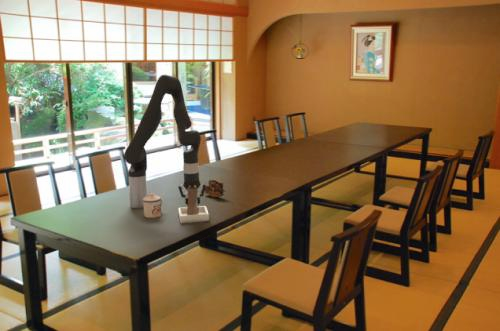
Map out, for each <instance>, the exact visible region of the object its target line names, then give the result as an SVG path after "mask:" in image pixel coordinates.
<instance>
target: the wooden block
mask: <svg viewBox="0 0 500 331" xmlns="http://www.w3.org/2000/svg"><path fill="white" fill-rule="evenodd" d="M197 190H198V191H199V188H196V187H190V188H189V194H188V206H186V207H187V215H194V214H198V213H199V207H198V206H199V205H197Z"/></svg>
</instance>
